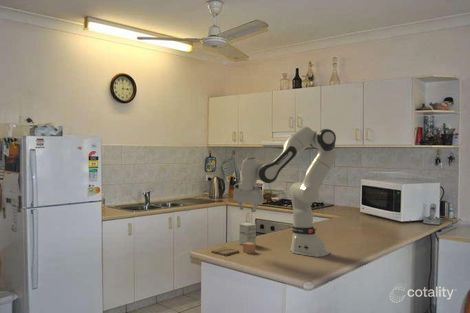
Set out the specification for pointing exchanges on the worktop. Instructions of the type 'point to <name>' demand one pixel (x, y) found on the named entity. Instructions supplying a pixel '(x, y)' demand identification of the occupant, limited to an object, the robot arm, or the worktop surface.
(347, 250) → the worktop surface
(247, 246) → the terracotta cube
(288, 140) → the robot arm
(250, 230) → the supplement box
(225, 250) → the walnut board
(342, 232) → the worktop surface
